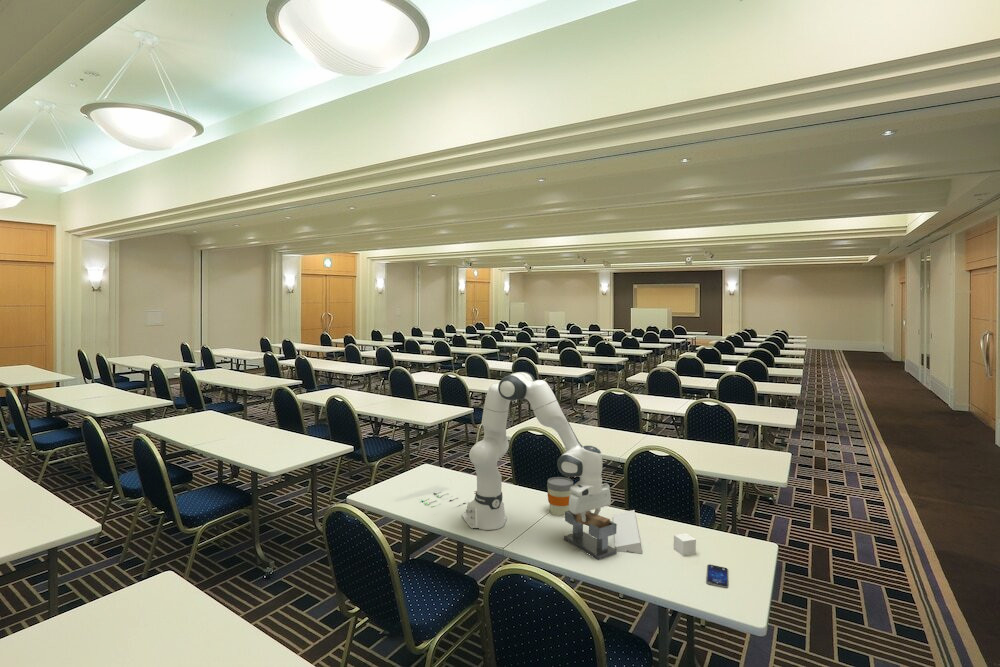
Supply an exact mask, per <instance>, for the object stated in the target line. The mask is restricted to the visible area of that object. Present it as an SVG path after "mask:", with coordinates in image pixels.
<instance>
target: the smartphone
mask: <svg viewBox="0 0 1000 667" xmlns="http://www.w3.org/2000/svg"><path fill="white" fill-rule="evenodd" d="M705 579H706V580H705V583H706V585H708V586H712V587H716V588H717V587H718V588H721V589H729V569H728V568H727V567H724V566H719V565H714V564H707V565H706V578H705Z"/></svg>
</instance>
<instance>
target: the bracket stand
mask: <svg viewBox="0 0 1000 667" xmlns="http://www.w3.org/2000/svg"><path fill="white" fill-rule="evenodd" d="M588 512H591V513H592V510H590V511H588ZM564 522H567V523H568V524H569V525H572V533H570V534H567V535H566V534H565V535H563V540H564V541H566V542H567V543H569V544H571V545H572V546H574V547H576V548H577V549H579V550H580V551H582V550H583V551H582V552H584V553H586V554H587V553H588V554H587V555H589V554H590V555H589V556H590V557H592V556H593V557H592V558H594V559H596V560H597V561H599V560H603V559H604V558H608V557H611V556H614V555H616V554H617V552H618V551H617V549H616V548H615V547H612V546H610V545H609V537H611V536H614V535H615V534H616V528H617V524H615V523H614V522H613V521H611V520H610V525H609V526H605V527H602V528H598V527H597V526H595V525H593V524H589V526H588V533H587V532H585V531H584V524H582V523H579V522H576V515H574V514H572V513H571V512H570V511H565V516H564Z"/></svg>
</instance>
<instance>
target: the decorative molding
mask: <svg viewBox="0 0 1000 667" xmlns="http://www.w3.org/2000/svg"><path fill="white" fill-rule="evenodd" d="M635 511H636V510H635V509H633V510H626V511H622V512H617V513H616V512H615V513H613V514H612V518H613V520H612V522H613V523H615V524H617V528H616V534H615V535H613V536H614V548H615V549H616V550H617V552H623V553H631V552H632V553H634V554H643V546H642V542H641V535H640V530H639V525H638V519H637V514H636V512H635Z"/></svg>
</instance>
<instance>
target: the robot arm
mask: <svg viewBox="0 0 1000 667" xmlns="http://www.w3.org/2000/svg"><path fill="white" fill-rule="evenodd" d="M524 399H526V400H527V401H528V402H529V404H530V407H531V408H532V411H533V413H534V416H535V418H536V420H537V421H538V422H539V424H541V425H542V426H544V427H548V428H550V429H553V430H554V431H556V433H557V434H558V436H559V438H560V440H561V441H562V444H563V445H564V447H565V448H564V449H565V452H564V453H563V454H561V456H559V457H558V459H557V463H556V464H557V469H558V471H559V473H561V475H563V476H564V477H567V478H568V477H571V478H573V477H574V478H576V477H579V480H578V481H577V482H576V483H574V484H573V486H571V487H570V492H572V493H571V494H570V497H569V511H570V512H571V513H573V514H579V513H580V514H581V516H582V521H583V522H586V521H587V519H588V517H586V516H585V514H586V511H593V510H594V512H593V513H594V514H597V515H600V512H601V509H602V508H604V507H608V506H611V503H612V497H611V487H610V485H609V483H607V482H604V483H603V478H602V477H603V476H602V472H603V457H602V456H603V455H602V452H601V450H600V449H599V448H598V447H596V446H593V445H584V446H583V445H582V443H581V442H580V441H579V439H578V437H577V436H576V434H575V432H574V430H573V428H572V426H571V425H570V422H569V421H568V419H567V417H566V416H565V414H564V413H563V411H562V408H561V406H560V403H559V401H558V400H557V397H556V395H555V393H554V391H553V390H552V388H551V387H550V385H549V384H548V382H547V381H545V380H542V379H537V380H536V379H535V377H534V376H533V375H532V374H531V372H530V373H529V372H528V371H519V372H518V371H517V372H513V373H511V374H509V375H506V376H504V377H502V378H501V380H500V381H499V383H497V382H496V383H494V384H491V385H490V386H489V387H488V390H487V393H486V395H485V400H484V406H483V410H482V418H481V425H482V427H483V433H484V434H483V439H482V440H479V441H477V442H476V443H474V445H473V446H472V447H471V449H470V450H469V454H468V456H469V457H468V458H469V460H470V462H471V463H472V465H473V466H474V469H475V472H476V491H473V492H474V494H475V495H474V500H472V501H471V502H469V503H467V505H466V509H465V512H462V513H461V518H462V517H463V518H464V519H463V518H462V519H463V521H464V522H465V521H466V522H467V523H468V524H467V523H466V522H465V523H466V524H467V526H468V525H469V526H470V527H471V528H470V527H469V526H468V527H469V528H470V529H473V528H479V529H478V530H484V531H490V530H491V531H493V530H498V529H501V528H503V527H504V526H505V525H506V524H505V523H506V521H507V520H508V518H507V516H505V515H506V514H505V503H504V502H503V492H502V477H503V476H502V474H501V472H499V468H498V461H499V460H500V459H501V458H503V457H504V456H505V455H506V453H507V452H508V450H509V446H510V444H509V440H508V439H507V438H508V437H507V423H508V417H509V411H510V404H511V401H518V400H519V401H520V400H524Z"/></svg>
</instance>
